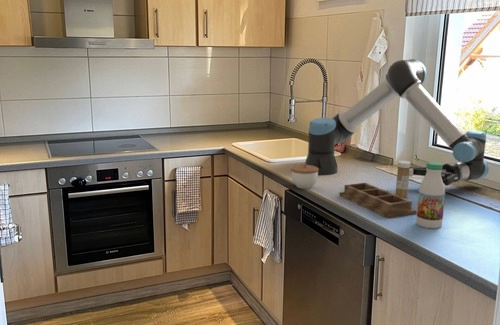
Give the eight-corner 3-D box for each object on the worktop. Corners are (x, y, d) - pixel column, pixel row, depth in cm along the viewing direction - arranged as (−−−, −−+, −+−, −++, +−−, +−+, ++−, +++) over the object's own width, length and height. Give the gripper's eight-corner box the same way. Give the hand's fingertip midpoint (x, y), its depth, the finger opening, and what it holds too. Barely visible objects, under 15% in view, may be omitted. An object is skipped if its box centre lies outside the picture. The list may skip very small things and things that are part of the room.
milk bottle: (412, 220, 160) (417, 160, 156) (435, 220, 161) (441, 160, 156) (421, 229, 153) (427, 166, 148) (446, 229, 153) (452, 166, 149)
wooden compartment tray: (339, 195, 187) (339, 184, 186) (365, 192, 192) (366, 181, 191) (387, 218, 162) (388, 206, 161) (416, 213, 167) (417, 201, 166)
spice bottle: (393, 194, 189) (395, 160, 186) (405, 194, 189) (407, 160, 186) (397, 198, 184) (400, 163, 181) (409, 198, 185) (412, 162, 182)
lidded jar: (300, 181, 207) (301, 159, 204) (322, 186, 200) (323, 163, 198) (285, 187, 198) (286, 164, 196) (308, 191, 192) (309, 168, 190)
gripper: (478, 189, 184) (435, 196, 176) (429, 174, 207) (389, 179, 198) (481, 170, 183) (437, 175, 174) (431, 156, 205) (390, 161, 196)
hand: (411, 177), depth 186 cm, fingers open, 13 cm apart
